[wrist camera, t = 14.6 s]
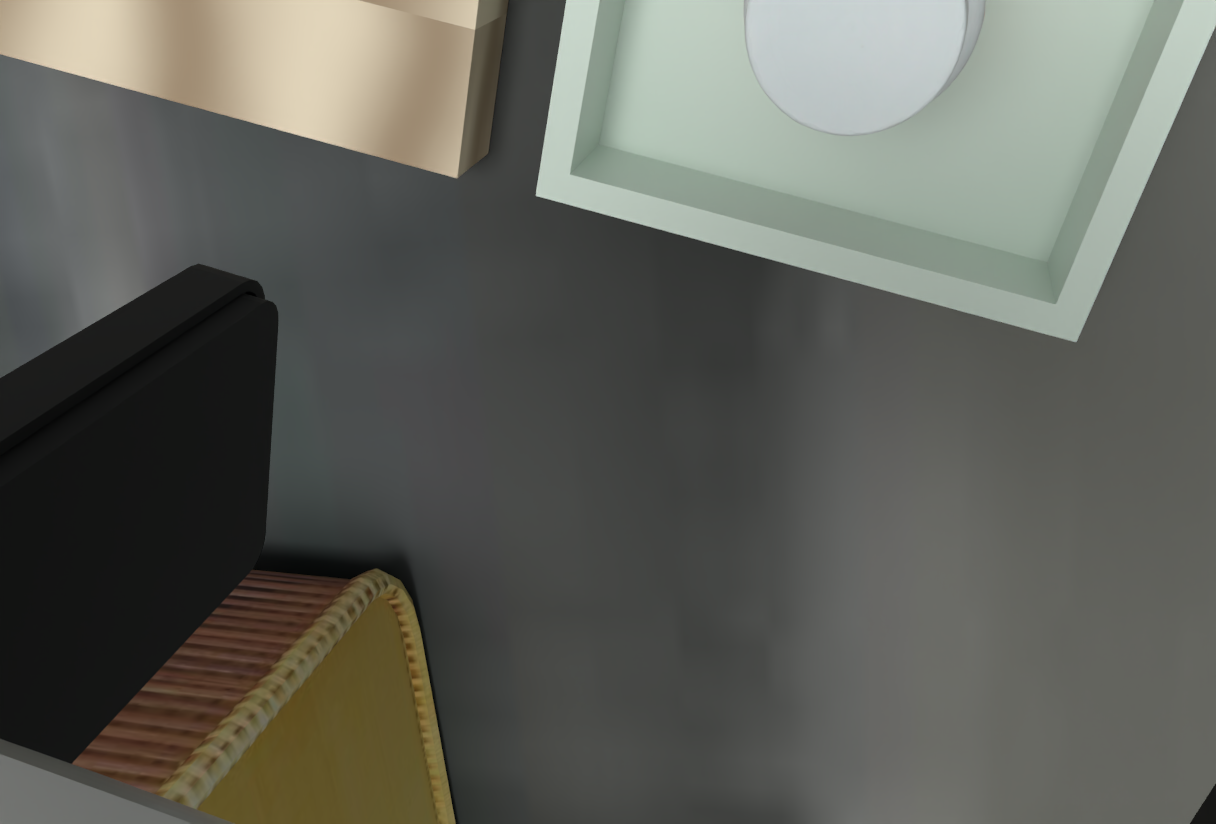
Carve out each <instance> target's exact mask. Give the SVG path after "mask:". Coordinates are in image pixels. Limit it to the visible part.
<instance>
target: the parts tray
mask: <svg viewBox="0 0 1216 824" xmlns="http://www.w3.org/2000/svg"><path fill="white" fill-rule="evenodd" d="M1215 26H1216V0H986V2H985V16H984V21H983V25H982V28H981V31H980V34H979V38H978V40H977V43H976V45H975V48H974V50H973V52H972V54H971V56H970V58H969V59H968V61H967V63H966V65H965V66H964V68H963V69H962V71H961V72H960V74H959V75H958V76H957V78H956V79H955V80H954V81H953V82H952V83H951V84H950V86H949V87H948V88H947V89H946V90H945V91H943V92H942V93H941V94H940V95H939V96H938V97H937V98H936V99H934V100H933V101H932V102H930V103H929V104H928V105H927V106H926V107H924V108H923V109H922V110H921V111H919V112H918V113H917V114H915V115H914V116H913V117H911V118H909V119H908V120H906V121H904V122H902V123H900V124H899V125H896V126H894V127H892V128H889V129H886V130H884V131H881V132H877V133H872V134H867V135H858V136H840V135H832V134H827V133H824V132H820V131H816V130H813V129H811V128H808V127H806V126H803V125H801V124H799V123H797V122H796V121H794V120H792V119H791V118H790V117H789V116H787V115H786V114H785V113H783V112H782V111H781V110H780V109H779V108H778V107H777V106H776V105H775V104H774V103H773V102H772V101H771V100H770V98H769V97H768V96H767V95H766V94H765V92H764V91H763V89H762V88H761V86H760V84H759V82H758V81H757V79H756V76H755V74H754V72H753V70H752V67H751V65H750V62H749V58H748V53H747V49H746V42H745V26H744V0H566V6H565V13H564V19H563V25H562V32H561V38H560V44H559V51H558V57H557V63H556V70H555V76H554V82H553V89H552V95H551V101H550V107H549V114H548V120H547V126H546V133H545V139H544V145H543V152H542V158H541V164H540V171H539V177H538V183H537V190H536V196H538V197H542V198H546V199H550V200H553V201H557V202H561V203H564V204H568V205H572V206H575V207H579V208H583V209H586V210H590V211H594V212H597V213H601V214H605V215H608V216H612V217H616V218H620V219H623V220H627V221H631V222H634V223H638V224H642V225H645V226H649V227H653V228H656V229H660V230H664V231H667V232H671V233H675V234H678V235H682V236H686V237H690V238H693V239H697V240H701V241H704V242H708V243H712V244H715V245H719V246H723V247H726V248H730V249H734V250H737V251H741V252H745V253H748V254H752V255H756V256H760V257H763V258H767V259H771V260H774V261H778V262H782V263H785V264H789V265H793V266H796V267H800V268H804V269H807V270H811V271H815V272H819V273H822V274H826V275H830V276H833V277H837V278H841V279H844V280H848V281H852V282H855V283H859V284H863V285H866V286H870V287H874V288H877V289H881V290H885V291H889V292H892V293H896V294H900V295H903V296H907V297H911V298H914V299H918V300H922V301H925V302H929V303H933V304H936V305H940V306H944V307H947V308H951V309H955V310H959V311H962V312H966V313H970V314H973V315H977V316H981V317H984V318H988V319H992V320H995V321H999V322H1003V323H1006V324H1010V325H1014V326H1017V327H1021V328H1025V329H1029V330H1032V331H1036V332H1040V333H1043V334H1047V335H1051V336H1054V337H1058V338H1062V339H1065V340H1069V341H1073V342H1077V340H1078V338H1079V335H1080V333H1081V331H1082V328H1083V326H1084V324H1085V322H1086V319H1087V317H1088V315H1089V313H1090V310H1091V308H1092V306H1093V303H1094V301H1095V299H1096V297H1097V294H1098V292H1099V290H1100V288H1101V285H1102V283H1103V281H1104V278H1105V276H1106V274H1107V272H1108V269H1109V267H1110V265H1111V263H1112V260H1113V258H1114V256H1115V253H1116V251H1117V249H1118V247H1119V244H1120V242H1121V240H1122V238H1123V235H1124V233H1125V231H1126V228H1127V226H1128V224H1129V222H1130V219H1131V217H1132V215H1133V212H1134V210H1135V208H1136V206H1137V203H1138V201H1139V199H1140V197H1141V194H1142V192H1143V190H1144V187H1145V185H1146V183H1147V181H1148V178H1149V176H1150V174H1151V172H1152V169H1153V167H1154V165H1155V162H1156V160H1157V158H1158V156H1159V153H1160V151H1161V149H1162V147H1163V144H1164V142H1165V140H1166V137H1167V135H1168V133H1169V131H1170V128H1171V126H1172V124H1173V122H1174V119H1175V117H1176V115H1177V112H1178V110H1179V108H1180V106H1181V103H1182V101H1183V99H1184V97H1185V94H1186V92H1187V90H1188V87H1189V85H1190V83H1191V81H1192V78H1193V76H1194V74H1195V72H1196V69H1197V67H1198V65H1199V62H1200V60H1201V58H1202V56H1203V53H1204V51H1205V49H1206V47H1207V44H1208V42H1209V40H1210V37H1211V35H1212V33H1213V31H1214V28H1215Z"/></svg>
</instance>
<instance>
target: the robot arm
mask: <svg viewBox="0 0 1216 824" xmlns="http://www.w3.org/2000/svg"><path fill="white" fill-rule="evenodd" d="M277 335H278V311H277V307H276V305H275V304H274V303H273V302H271V301H268V300H265V295H264V292H263V289H262V286H261V285H260V284H259V283H258V282H257V281H255V280H251V279H248V278H245V277H242V276H238V275H235V274H232V273H228V272H225V271H222V270H219V269H215V268H212V267H209V266H205V265H201V264H197V265H194V266H191V267H189V268H187V269H185V270H184V271H182V272H180V273H179V274H177V275H175V276H174V277H172V278H170V279H168V280H167V281H165V282H163V283H162V284H160V285H158V286H157V287H155V288H153V289H151V290H150V291H148V292H146V293H145V294H143V295H141V296H140V297H138V298H136V299H134V300H133V301H131V302H129V303H128V304H126V305H124V306H123V307H121V308H119V309H117V310H116V311H114V312H112V313H111V314H109V315H107V316H105V317H104V318H102V319H100V320H99V321H97V322H95V323H94V324H92V325H90V326H88V327H87V328H85V329H83V330H82V331H80V332H78V333H77V334H75V335H73V336H71V337H70V338H68V339H66V340H65V341H63V342H61V343H60V344H58V345H56V346H54V347H53V348H51V349H49V350H48V351H46V352H44V353H43V354H41V355H39V356H37V357H36V358H34V359H32V360H31V361H29V362H27V363H26V364H24V365H22V366H20V367H19V368H17V369H15V370H14V371H12V372H10V373H9V374H7V375H5V376H3V377H2V378H0V824H235V823H232V822H229V821H227V820H224V819H221V818H218V817H216V816H213V815H210V814H207V813H205V812H202V811H199V810H197V809H194V808H191V807H188V806H186V805H183V804H180V803H177V802H175V801H172V800H169V799H167V798H164V797H161V796H158V795H156V794H153V793H150V792H148V791H145V790H142V789H139V788H137V787H134V786H131V785H128V784H126V783H123V782H120V781H118V780H115V779H112V778H109V777H107V776H104V775H101V774H99V773H96V772H93V771H90V770H87V769H84V768H82V767H79V766H76V765H73V764H72V763H73V762H74V761H75V760H76V758H77V757H78V756H79V755H80V754H81V753H82V752H83V751H84V750H85V749H86V748H87V747H88V746H89V745H90V743H91V742H92V741H93V740H94V739H95V738H96V737H97V736H98V735H99V734H100V733H101V732H102V731H103V730H104V728H105V727H106V726H107V725H108V724H109V723H110V722H111V721H112V720H113V719H114V718H115V717H116V716H117V715H118V713H119V712H120V711H121V710H122V709H123V708H124V707H125V706H126V705H127V704H128V703H129V702H130V701H131V700H132V698H133V697H134V696H135V695H136V694H137V693H138V692H139V691H140V690H141V689H142V688H143V687H144V686H145V684H146V683H147V682H148V681H149V680H150V679H151V678H152V677H153V676H154V675H155V674H156V673H157V672H158V671H159V669H160V668H161V667H162V666H163V665H164V664H165V663H166V662H167V661H168V660H169V659H170V658H171V657H172V656H173V654H174V653H175V652H176V651H177V650H178V649H179V648H180V647H181V646H182V645H183V644H184V643H185V642H186V641H187V639H188V638H189V637H190V636H191V635H192V634H193V633H194V632H195V631H196V630H197V629H198V628H199V627H200V626H201V624H202V623H203V622H204V621H205V620H206V619H207V618H208V617H209V616H210V615H211V614H212V613H213V612H214V610H215V609H216V608H217V607H218V606H219V605H220V604H221V603H222V602H223V601H224V600H225V599H226V598H227V597H228V595H229V594H230V593H231V592H232V591H233V590H234V589H235V588H236V587H237V586H238V585H239V584H240V583H241V582H242V580H243V579H244V578H245V577H246V576H247V575H248V574H249V573H250V571H251V570H252V569H253V567H254V566H255V564H256V562H257V560H258V558H259V556H260V553H261V551H262V548H263V544H264V540H265V533H266V517H267V500H268V484H269V467H270V451H271V434H272V418H273V401H274V385H275V368H276V352H277ZM1190 824H1216V784H1215V786H1214V787H1213V789H1212V790H1211V792H1210V793H1209V795H1208V796H1207V798H1206V800H1205V801H1204V803H1203V804H1202V806H1201V807H1200V809H1199V810H1198V812H1197V813H1196V815H1195V817H1194V818H1193V820H1192V821H1191V823H1190Z"/></svg>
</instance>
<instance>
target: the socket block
mask: <svg viewBox="0 0 1216 824" xmlns="http://www.w3.org/2000/svg"><path fill="white" fill-rule="evenodd" d="M508 1H509V0H0V54H2V55H5V56H9V57H13V58H16V59H20V60H24V61H28V62H31V63H35V64H39V65H42V66H46V67H50V68H53V69H57V70H61V71H64V72H68V73H72V74H75V75H79V76H83V77H86V78H90V79H94V80H97V81H101V82H105V83H108V84H112V85H116V86H119V87H123V88H127V89H131V90H134V91H138V92H142V93H145V94H149V95H153V96H156V97H160V98H164V99H167V100H171V101H175V102H178V103H182V104H186V105H189V106H193V107H197V108H200V109H204V110H208V111H211V112H215V113H219V114H222V115H226V116H230V117H234V118H237V119H241V120H245V121H248V122H252V123H256V124H259V125H263V126H267V127H270V128H274V129H278V130H281V131H285V132H289V133H292V134H296V135H300V136H303V137H307V138H311V139H314V140H318V141H322V142H325V143H329V144H333V145H337V146H340V147H344V148H348V149H351V150H355V151H359V152H362V153H366V154H370V155H373V156H377V157H381V158H384V159H388V160H392V161H395V162H399V163H403V164H406V165H410V166H414V167H417V168H421V169H425V170H429V171H432V172H436V173H440V174H443V175H447V176H451V177H454V178H458V177H459V176H461V175H462V174H463V173H464V172H466V171H467V170H468V169H469V168H471V167H472V166H473V165H474V164H476V163H477V162H478V161H479V160H481V159H482V158H483V157H484V156H486V155H487V154H488V151H489V144H490V136H491V129H492V121H493V114H494V106H495V99H496V91H497V84H498V76H499V69H500V61H501V54H502V46H503V39H504V31H505V24H506V16H507V9H508Z"/></svg>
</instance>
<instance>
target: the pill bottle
mask: <svg viewBox="0 0 1216 824" xmlns="http://www.w3.org/2000/svg"><path fill="white" fill-rule="evenodd" d="M985 2H986V0H744V26H745V42H746V49H747V53H748V58H749V62H750V65H751V67H752V70H753V72H754V74H755V76H756V79H757V81H758V82H759V84H760V86H761V88H762V89H763V91H764V92H765V94H766V95H767V96H768V97H769V98H770V100H771V101H772V102H773V103H774V104H775V105H776V106H777V107H778V108H779V109H780V110H781V111H782V112H783V113H785V114H786V115H787V116H789V117H790V118H791V119H792V120H794V121H796V122H797V123H799V124H801V125H803V126H806V127H808V128H811V129H813V130H816V131H820V132H824V133H827V134H832V135H840V136H858V135H867V134H872V133H877V132H881V131H884V130H886V129H889V128H892V127H894V126H896V125H899V124H900V123H902V122H904V121H906V120H908V119H909V118H911V117H913V116H914V115H915V114H917V113H918V112H919V111H921V110H922V109H923V108H924V107H926V106H927V105H928V104H929V103H930V102H932V101H933V100H934V99H936V98H937V97H938V96H939V95H940V94H941V93H942V92H943V91H945V90H946V89H947V88H948V87H949V86H950V84H951V83H952V82H953V81H954V80H955V79H956V78H957V76H958V75H959V74H960V72H961V71H962V69H963V68H964V66H965V65H966V63H967V61H968V59H969V58H970V56H971V54H972V52H973V50H974V48H975V45H976V43H977V40H978V38H979V34H980V31H981V28H982V25H983V21H984V16H985Z"/></svg>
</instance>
